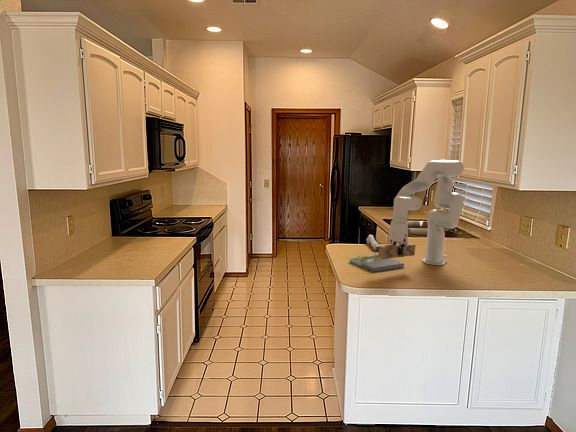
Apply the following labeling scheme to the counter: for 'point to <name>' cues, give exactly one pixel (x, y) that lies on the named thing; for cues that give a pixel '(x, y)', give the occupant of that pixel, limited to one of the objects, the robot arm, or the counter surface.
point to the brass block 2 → (377, 257)
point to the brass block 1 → (362, 258)
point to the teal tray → (354, 261)
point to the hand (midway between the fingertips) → (397, 253)
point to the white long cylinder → (373, 243)
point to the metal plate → (382, 265)
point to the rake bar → (395, 251)
